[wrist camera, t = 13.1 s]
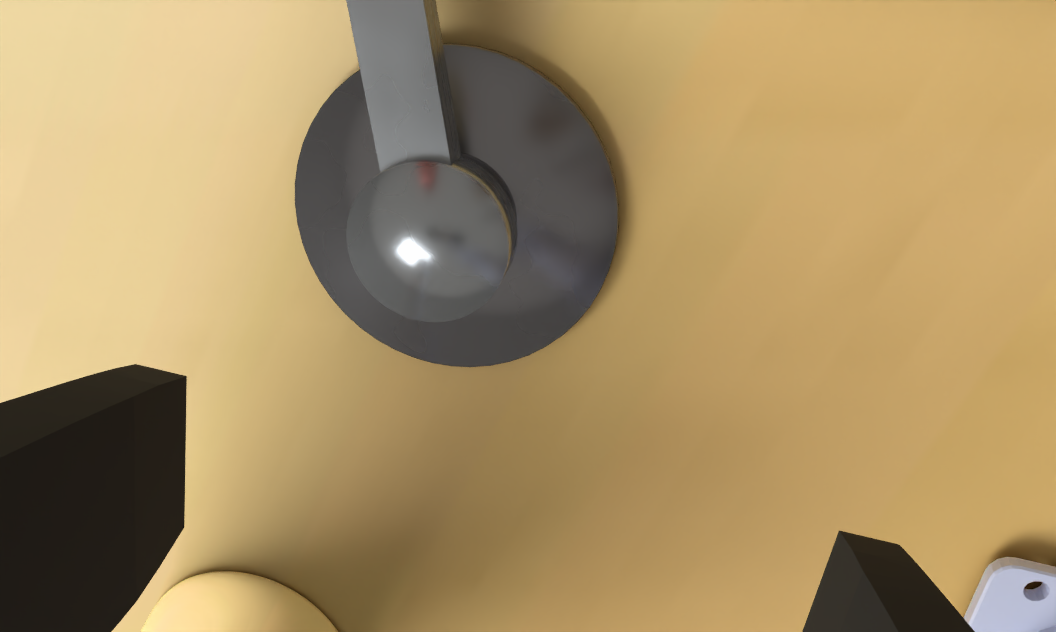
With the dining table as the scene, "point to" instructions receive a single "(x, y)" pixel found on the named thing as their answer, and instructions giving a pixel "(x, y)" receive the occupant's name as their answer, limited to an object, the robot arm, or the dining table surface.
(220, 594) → the beer glass
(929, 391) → the dining table surface
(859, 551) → the robot arm
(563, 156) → the crank hub
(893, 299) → the dining table surface
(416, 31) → the crank
